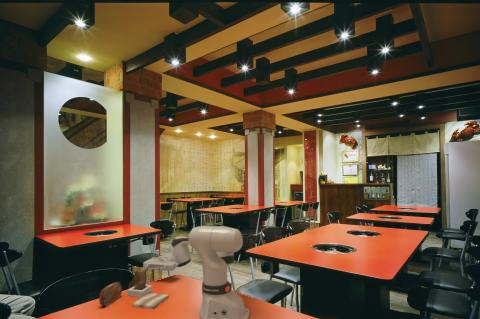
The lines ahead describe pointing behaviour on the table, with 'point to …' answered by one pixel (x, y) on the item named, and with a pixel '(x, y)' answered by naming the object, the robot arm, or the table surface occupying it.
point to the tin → (110, 294)
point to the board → (150, 300)
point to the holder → (139, 291)
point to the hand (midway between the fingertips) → (152, 269)
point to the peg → (140, 279)
